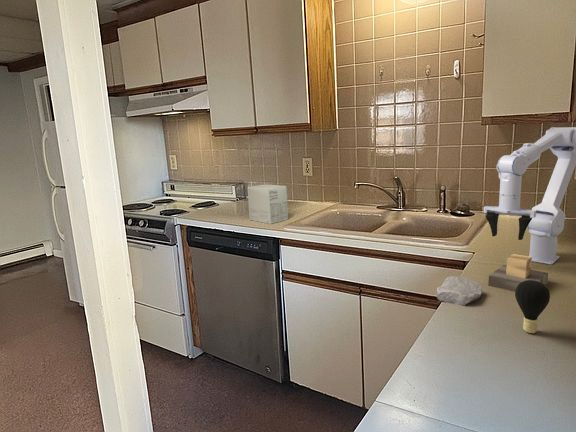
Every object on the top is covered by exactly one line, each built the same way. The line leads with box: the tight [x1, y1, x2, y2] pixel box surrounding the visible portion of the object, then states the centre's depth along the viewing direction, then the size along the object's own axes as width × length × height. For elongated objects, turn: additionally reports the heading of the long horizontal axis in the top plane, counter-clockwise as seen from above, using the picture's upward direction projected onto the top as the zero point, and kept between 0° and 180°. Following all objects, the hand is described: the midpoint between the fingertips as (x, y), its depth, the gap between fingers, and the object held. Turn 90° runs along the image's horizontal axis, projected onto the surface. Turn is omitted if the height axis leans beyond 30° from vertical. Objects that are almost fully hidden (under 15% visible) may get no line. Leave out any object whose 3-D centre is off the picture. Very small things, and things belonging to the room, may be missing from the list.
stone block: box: [436, 275, 483, 307], centre depth 114 cm, size 12×5×10 cm
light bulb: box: [514, 280, 551, 334], centre depth 93 cm, size 7×7×12 cm
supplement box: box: [247, 183, 289, 225], centre depth 220 cm, size 17×13×18 cm
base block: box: [487, 264, 549, 292], centre depth 120 cm, size 12×12×3 cm
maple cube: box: [506, 253, 533, 278], centre depth 120 cm, size 5×5×5 cm
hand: (507, 237), depth 131 cm, fingers open, 7 cm apart
